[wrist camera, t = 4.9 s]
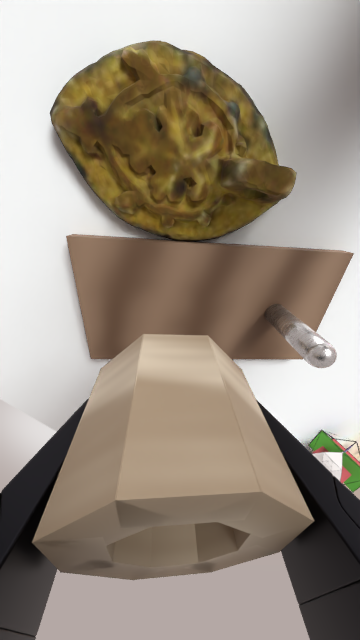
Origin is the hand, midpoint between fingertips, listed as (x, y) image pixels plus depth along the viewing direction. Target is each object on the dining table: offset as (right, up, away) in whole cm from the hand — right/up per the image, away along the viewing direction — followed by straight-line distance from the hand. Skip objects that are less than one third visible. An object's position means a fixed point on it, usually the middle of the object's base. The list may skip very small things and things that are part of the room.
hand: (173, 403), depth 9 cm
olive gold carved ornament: (0, +14, +5) cm, 15 cm away
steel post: (+9, +4, +9) cm, 14 cm away
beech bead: (0, 0, +1) cm, 1 cm away
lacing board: (+3, +5, +10) cm, 11 cm away
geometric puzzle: (+23, -15, +23) cm, 36 cm away
